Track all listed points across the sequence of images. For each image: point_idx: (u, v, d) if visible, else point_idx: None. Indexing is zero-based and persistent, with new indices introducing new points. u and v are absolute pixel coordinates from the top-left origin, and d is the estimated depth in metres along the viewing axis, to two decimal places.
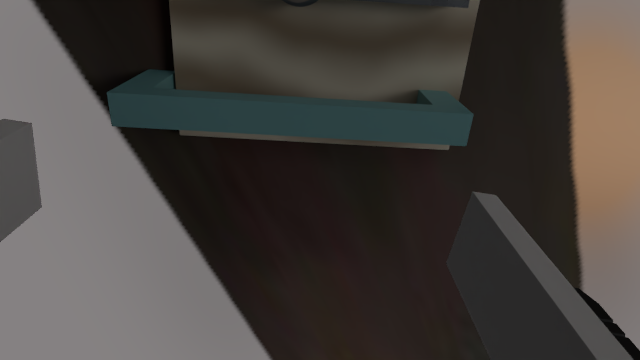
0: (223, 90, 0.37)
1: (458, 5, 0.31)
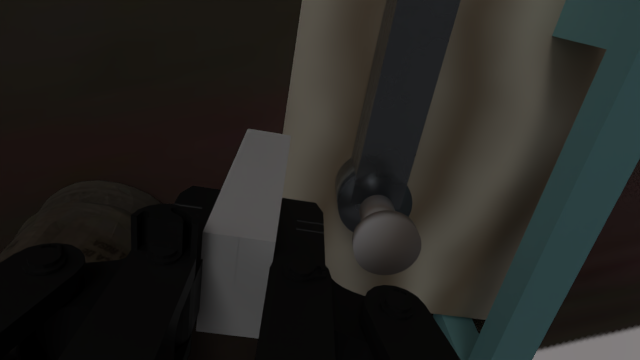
0: (474, 274, 0.32)
1: None
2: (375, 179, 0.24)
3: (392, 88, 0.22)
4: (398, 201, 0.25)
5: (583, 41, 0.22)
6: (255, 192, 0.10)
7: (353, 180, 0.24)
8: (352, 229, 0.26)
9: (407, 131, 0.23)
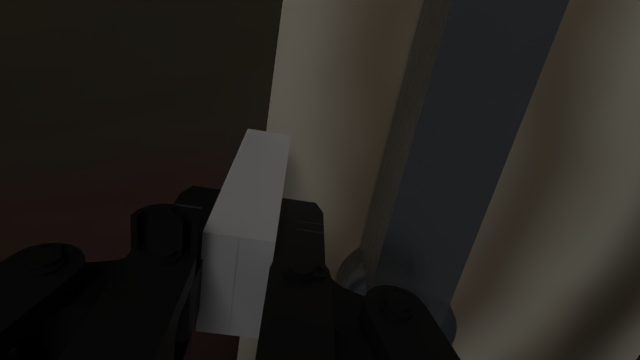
0: None
1: (561, 8, 0.11)
2: None
3: (433, 162, 0.13)
4: None
5: None
6: (255, 192, 0.10)
7: None
8: None
9: (454, 229, 0.14)
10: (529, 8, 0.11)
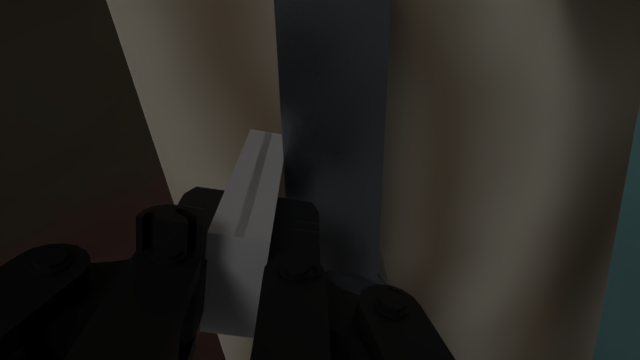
0: (544, 344, 0.21)
1: None
2: None
3: (309, 139, 0.12)
4: None
5: None
6: (259, 193, 0.10)
7: None
8: None
9: (355, 203, 0.13)
10: None
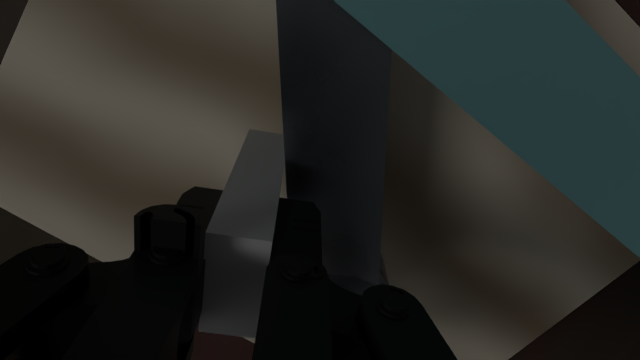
0: None
1: None
2: None
3: (311, 142, 0.12)
4: None
5: None
6: (257, 192, 0.10)
7: None
8: None
9: (357, 207, 0.13)
10: None
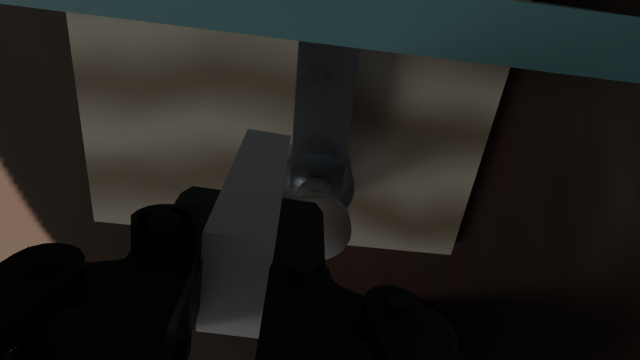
0: None
1: None
2: (311, 162, 0.23)
3: (313, 64, 0.21)
4: (339, 183, 0.24)
5: None
6: (255, 192, 0.10)
7: (288, 164, 0.23)
8: None
9: (336, 109, 0.22)
10: None
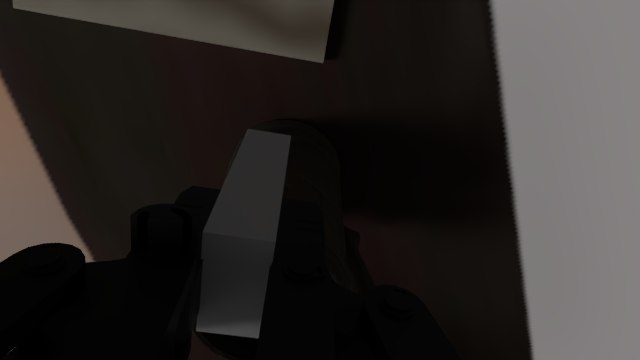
0: None
1: None
2: None
3: None
4: None
5: None
6: (255, 192, 0.10)
7: None
8: None
9: None
10: None
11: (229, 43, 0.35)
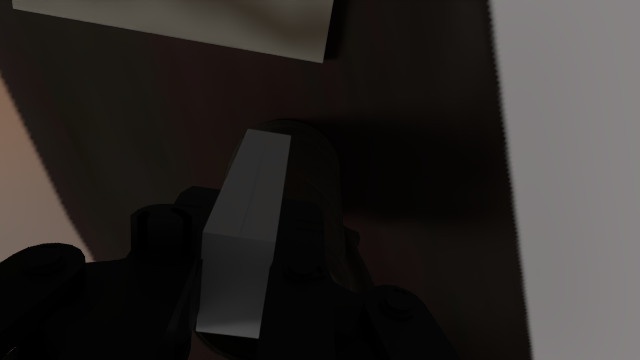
0: None
1: None
2: None
3: None
4: None
5: None
6: (255, 192, 0.10)
7: None
8: None
9: None
10: None
11: (228, 43, 0.35)
